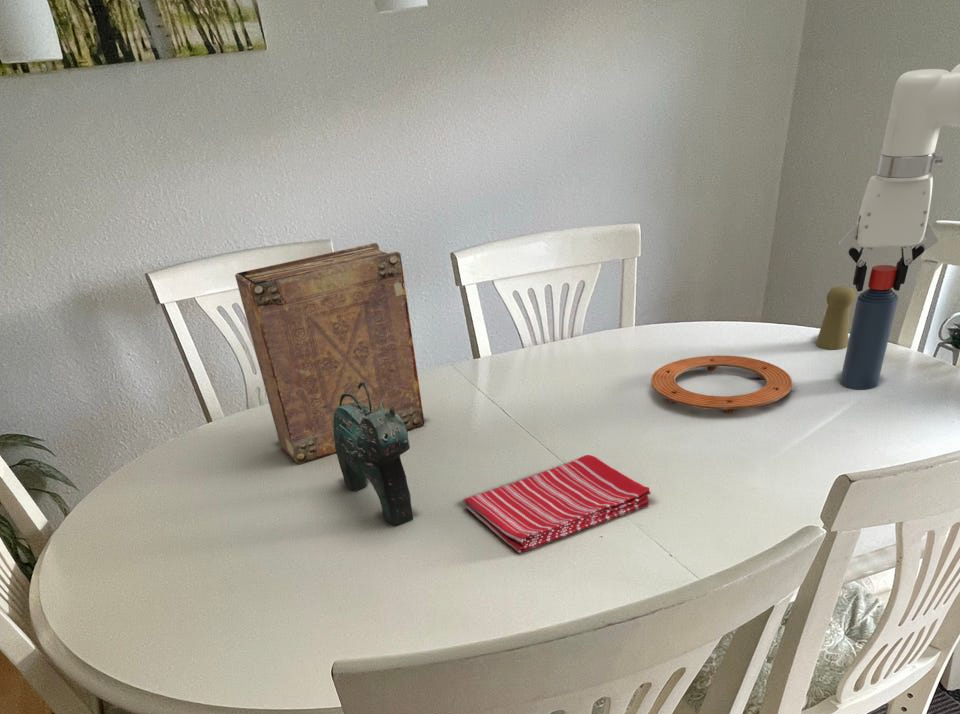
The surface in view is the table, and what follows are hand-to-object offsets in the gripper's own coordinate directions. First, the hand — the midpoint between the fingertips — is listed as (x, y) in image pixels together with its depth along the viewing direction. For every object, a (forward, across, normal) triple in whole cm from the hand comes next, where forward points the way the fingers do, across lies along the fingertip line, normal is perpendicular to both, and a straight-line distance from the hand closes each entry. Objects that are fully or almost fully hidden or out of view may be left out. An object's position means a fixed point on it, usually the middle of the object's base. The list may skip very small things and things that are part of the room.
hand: (877, 287), depth 134 cm
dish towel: (+17, +48, +50) cm, 71 cm away
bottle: (+17, 0, 0) cm, 17 cm away
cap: (0, -1, 0) cm, 1 cm away
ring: (+17, +24, +4) cm, 30 cm away
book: (+17, +90, +28) cm, 95 cm away
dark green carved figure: (+17, +76, +52) cm, 94 cm away
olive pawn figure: (+17, +2, -20) cm, 27 cm away
